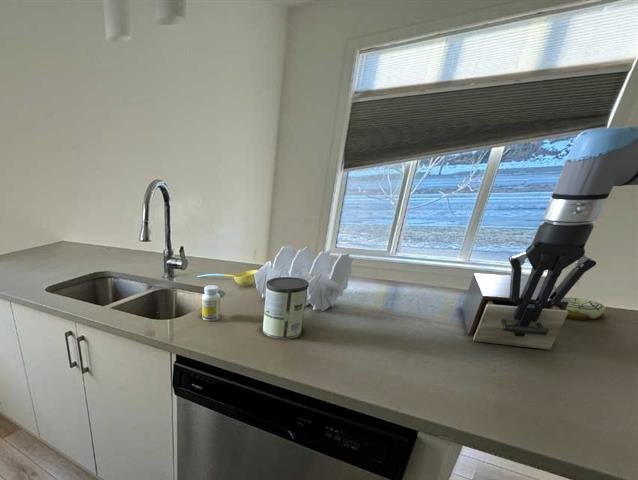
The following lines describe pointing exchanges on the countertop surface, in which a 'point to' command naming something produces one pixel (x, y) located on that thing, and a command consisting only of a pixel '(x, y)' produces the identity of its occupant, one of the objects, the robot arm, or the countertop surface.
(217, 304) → the supplement bottle
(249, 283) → the ladle
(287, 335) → the coffee can
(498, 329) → the drawer
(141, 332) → the countertop surface
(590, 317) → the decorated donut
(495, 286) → the cabinet
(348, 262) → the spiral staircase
